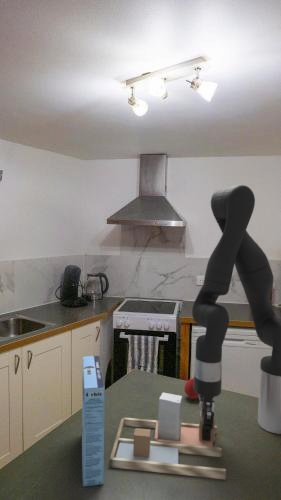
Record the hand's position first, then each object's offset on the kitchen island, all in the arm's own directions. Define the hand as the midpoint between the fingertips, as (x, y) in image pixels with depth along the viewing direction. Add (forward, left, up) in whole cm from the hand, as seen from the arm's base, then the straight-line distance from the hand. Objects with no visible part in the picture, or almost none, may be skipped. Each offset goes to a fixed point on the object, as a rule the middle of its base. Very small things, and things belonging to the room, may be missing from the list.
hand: (205, 434), depth 91 cm
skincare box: (+10, 0, -2) cm, 10 cm away
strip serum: (+6, 0, -2) cm, 6 cm away
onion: (+2, -24, -2) cm, 24 cm away
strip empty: (+15, +9, -2) cm, 18 cm away
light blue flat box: (+30, +10, -3) cm, 31 cm away
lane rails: (+10, +4, -2) cm, 11 cm away
